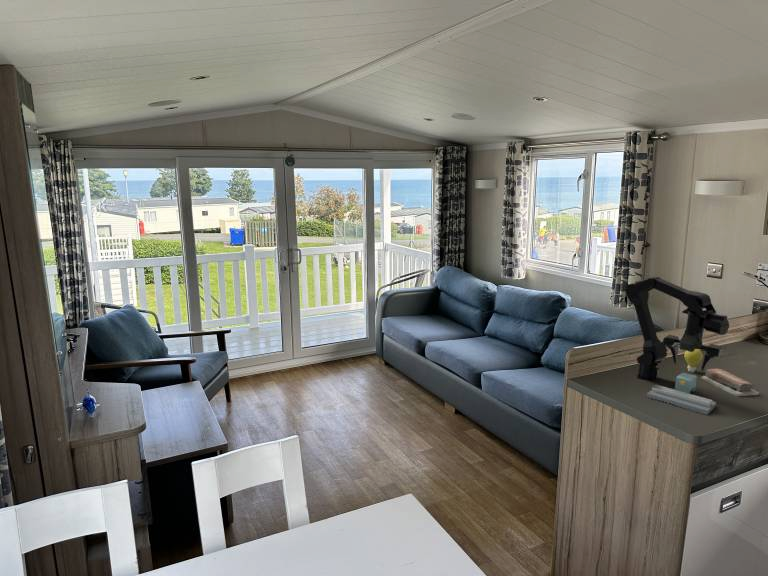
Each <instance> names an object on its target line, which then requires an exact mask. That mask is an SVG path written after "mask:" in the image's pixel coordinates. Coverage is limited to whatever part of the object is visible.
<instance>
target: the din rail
mask: <svg viewBox="0 0 768 576" xmlns="http://www.w3.org/2000/svg"><path fill="white" fill-rule="evenodd" d="M651 390H652V391H653V392H657V393H660V394H664V395H667V396H671V397H674V398H678V399H681V400H685V401H688V402H692V403H695V404H699V405H702V406H706V407H710V406H711V405H712V401H713V402H714V400H713V399H710V398H706V397H702V396H698V395H696V394H691V393H690V394H688V393H685V392H681V391H678V390H675V388H669V387H666V386H662V385H660V384H659V385H658V384H655V385H653V386H652V387H651Z"/></svg>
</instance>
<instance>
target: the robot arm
mask: <svg viewBox="0 0 768 576" xmlns="http://www.w3.org/2000/svg"><path fill="white" fill-rule="evenodd" d="M654 289H655V290H657V291H659V292H661V293H663V294H666V295H668V296H669V297H672V298H675V299H676V300H678V301H680V302H681V303H682V305H683V306H686V308H685V309H684V310H682V311H681V313H682V314H685V315H687V319H686V325H685V330H684V333H683V334H682V337H681V338H680V337H679V336H676V335H672V334H668V335H666V336H665V337H663V339H662V341H661V340H660V339H659V337H658V336H657V332H656V328H655V325H654V322H653V318H652V315H651V312H650V311H651V310H650V308H649V305H648V303H649V302H648V301H649V298H650V295H649V294H650V292H649V291H652V290H654ZM624 291H625V295H626V297H627V299H628V301H629V302H630V303H631V304H632V305H633V306H634V309H635V313H636V316H637V321H638V323H639V328H640V331H641V334H642V338H643V344H642V354H640V355H639V356H637V357H636V361H637V364H639V366H638V373H637V375H636V378H638V379H639V378H640V379H643V380H647V381H650V382H655V381H656V380H657V379H659V377H660V376H659V375H660V367H659V364H661V363H662V361H664V360H665V359H666V358H667V356H668V349H669V350H670V352H671V354H672V355H671V356H672V359H673V362H674V365H676V364H677V363H678V356H679V350H682V351H689V352H693V351H694V350H695V349H698V350H700V351H704V352H705V354H704V356H703V358H704V359H703V360H702V366H701V369H700V370H701V371H704V369H705V368H706V367H707V365H708V363H709V362H710V360H711V359H714V358H715V357H717V358H718V357H720V356H721V355H722V354H723V347H722V345H718V344H715V343H710V344H709V345H705V344H703V337H704V333H705V331H707V332H711V333H714V334H717V335H721V336H725V335H726V334H727V332H728V331H729V329H730V324H729V323H730V322H729V320H728V316H727V315H724V314H722V315H721V314H717V310H716V308H715V307H714V305H713V303H712V299H711V296H710V294H709V295H708V293H705V292H700V291H695V290H689V289H686V288H683V287H681V286H679V285H677V284H674V283H671V282H670V281H667V280H665V279H663V278H661V277H659V276H654V277H649V278H647V279H645V280H641V281H638V282H635V283H634V282H633V283H629V284H627V285H626V287H625V289H624ZM667 348H668V349H667Z"/></svg>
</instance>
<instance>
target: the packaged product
mask: <svg viewBox="0 0 768 576" xmlns="http://www.w3.org/2000/svg"><path fill="white" fill-rule="evenodd" d="M700 379H702V380H703V381H705V382H707V383H708V384H711V385H712V386H715V387H717V388H719V389H721V390H723V391H725V392H727V393H728V394H731V395H733V396H736V397H746V396H757V395H760V392H758V391H756V390H755V389H752V388H753V387H754V384H753V383H751V382H749V381H747V380H744V379H742V378H741V377H739V376H736V375H734V374H732V373H730V372H728V371H726V370H724V369H721V368H717V367H716V368H709V369H706V371H705V375H701V377H700Z"/></svg>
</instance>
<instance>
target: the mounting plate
mask: <svg viewBox="0 0 768 576" xmlns="http://www.w3.org/2000/svg"><path fill="white" fill-rule="evenodd" d="M646 397H647V398H648V397H649V399H652V398H653V400H655V399H657V400H656V401H658V400H661V401H660V402H662V401H664V402H663V403H665V402H667V403H666V404H669V403H671V404H670V405H672V404H674V405H673V406H675V405H676V406H675V407H679V408H683V409H685V410H686V409H687V410H690V411H693V412H696V413H700V414H703V415H709V413H711V412H712V411H713V409H715V408H716V405H717V401H714V400H713V401H712V405H711V406H710V407H706V406H702V405H699V404H695V403H692V402H688V401H685V400H681V399H678V398H674V397H671V396H667V395H664V394H660V393H657V392H653V391H652V389H650V391H648V392H646Z"/></svg>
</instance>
